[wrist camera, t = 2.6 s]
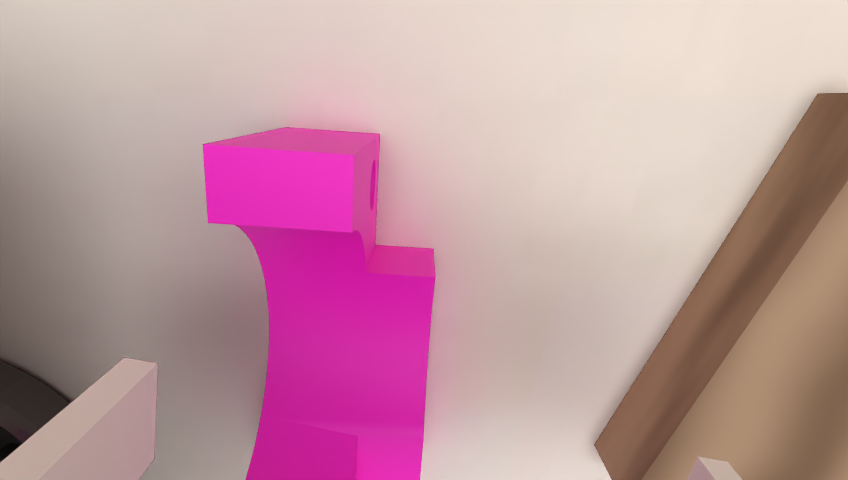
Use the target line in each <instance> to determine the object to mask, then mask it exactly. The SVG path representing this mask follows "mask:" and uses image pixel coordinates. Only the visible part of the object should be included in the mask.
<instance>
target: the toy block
mask: <svg viewBox="0 0 848 480" xmlns="http://www.w3.org/2000/svg"><path fill="white" fill-rule="evenodd" d="M379 144H380V134H373V133H359V132H345V131H331V130H317V129H303V128H289V127H285V128H280V129H275V130H270V131H265V132H260V133H255V134H251V135H246V136H241V137H236V138H231V139H226V140H221V141H217V142H212V143H207V144H203V153H204V168H205V183H206V199H207V214H208V223H217V224H231V225H236V226H237V227H239V228H240V229H241V230H242V231H244V232H245V233H246V235H247V236H248V237H249V239H250V240H251V242H252V244H253V246H254V247H255V249H256V252H257V254H258V257H259V260H260V263H261V266H262V270H263V274H264V278H265V284H266V290H267V298H268V310H269V354H268V368H267V377H266V386H265V394H264V401H263V407H262V413H261V418H260V423H259V428H258V433H257V438H256V442H255V447H254V451H253V454H252V458H251V462H250V466H249V470H248V473H247V477H246V480H420V472H421V460H422V448H423V434H424V413H425V395H426V378H427V363H428V349H429V336H430V324H431V313H432V303H433V293H434V284H435V266H434V251H433V249H429V248H413V247H398V246H383V245H375V239H376V215H377V192H378V168H379Z"/></svg>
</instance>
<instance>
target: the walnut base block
mask: <svg viewBox="0 0 848 480" xmlns="http://www.w3.org/2000/svg"><path fill="white" fill-rule="evenodd" d="M594 445H595V447H596V449H597V451H598V453H599V455H600V457H601V459H602V461H603V463H604V465H605V467H606V469H607V471H608V473H609V475H610V477H611V479H612V480H688V477H689V475H690V473H691V471H692V468H693V466H694V464H695V462H696V459H697V457H704V458H709V459H715V460H721V461H727V462H728V463H729V464H730V465H731V466H732V468H733V469H734V470H735V471H736V473H737V474H738V475H739V476H740V477H741V479H742V480H848V93H824V94H817V96H816V97H815V99H814V101H813V102H812V104H811V105H810V107H809V108H808V110H807V112H806V113H805V115H804V116H803V118H802V119H801V121H800V123H799V124H798V126H797V127H796V129H795V130H794V132H793V134H792V135H791V137H790V138H789V140H788V141H787V143H786V145H785V146H784V148H783V149H782V151H781V152H780V154H779V156H778V157H777V159H776V160H775V162H774V163H773V165H772V167H771V168H770V170H769V171H768V173H767V174H766V176H765V178H764V179H763V181H762V182H761V184H760V185H759V187H758V189H757V190H756V192H755V193H754V195H753V196H752V198H751V199H750V201H749V203H748V204H747V206H746V207H745V209H744V210H743V212H742V214H741V215H740V217H739V218H738V220H737V221H736V223H735V225H734V226H733V228H732V229H731V231H730V232H729V234H728V236H727V237H726V239H725V240H724V242H723V243H722V245H721V247H720V248H719V250H718V251H717V253H716V254H715V256H714V258H713V259H712V261H711V262H710V264H709V265H708V267H707V269H706V270H705V272H704V273H703V275H702V276H701V278H700V280H699V281H698V283H697V284H696V286H695V287H694V289H693V291H692V292H691V294H690V295H689V297H688V298H687V300H686V302H685V303H684V305H683V306H682V308H681V309H680V311H679V313H678V314H677V316H676V317H675V319H674V320H673V322H672V323H671V325H670V327H669V328H668V330H667V331H666V333H665V334H664V336H663V338H662V339H661V341H660V342H659V344H658V345H657V347H656V349H655V350H654V352H653V353H652V355H651V356H650V358H649V360H648V361H647V363H646V364H645V366H644V367H643V369H642V371H641V372H640V374H639V375H638V377H637V378H636V380H635V382H634V383H633V385H632V386H631V388H630V389H629V391H628V393H627V394H626V396H625V397H624V399H623V400H622V402H621V404H620V405H619V407H618V408H617V410H616V411H615V413H614V415H613V416H612V418H611V419H610V421H609V422H608V424H607V426H606V427H605V429H604V430H603V432H602V433H601V435H600V437H599V438H598V440H597V441H596V443H595V444H594Z"/></svg>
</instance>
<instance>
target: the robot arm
mask: <svg viewBox="0 0 848 480" xmlns="http://www.w3.org/2000/svg"><path fill="white" fill-rule="evenodd" d="M157 373H158V363H153V362H147V361H141V360H136V359H130V358H123V359H122V360H121V361H120V362H119V363H117V364H116V365H115V366H114V367H113V368H112V369H110V370H109V371H108V372H107V373H106V374H104V375H103V376H102V377H101V378H100V379H99V380H97V381H96V382H95V383H94V384H93V385H91V386H90V387H89V388H88V389H87V390H86V391H84V392H83V393H82V394H81V395H80V396H78V397H77V398H76V399H75V400H74V401H73V402H71V403H69V402H68V401H66V400H65V399H64V398H63V397H62V396H60V395H59V394H58V393H56V392H55V391H54V390H52V389H51V388H50V387H48V386H47V385H45V384H44V383H42V382H41V381H39V380H37V379H36V378H34V377H32V376H31V375H29V374H27V373H25V372H23V371H21V370H19V369H17V368H15V367H13V366H11V365H9V364H6V363H4V362H1V361H0V480H139V479H140V478H141V476H142V475H143V474H144V472H145V471H146V470H147V468H148V467H149V466H150V464H151V463H152V462H153V461H154V459H155V431H156V402H157ZM688 480H742V479H741V477H740V476H739V475H738V474H737V473H736V471H735V470H734V469H733V468H732V466H731V465H730V464H729V463H728V462H727V461H721V460H715V459H709V458H704V457H697V459H696V462H695V464H694V466H693V468H692V471H691V473H690V475H689V477H688Z"/></svg>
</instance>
